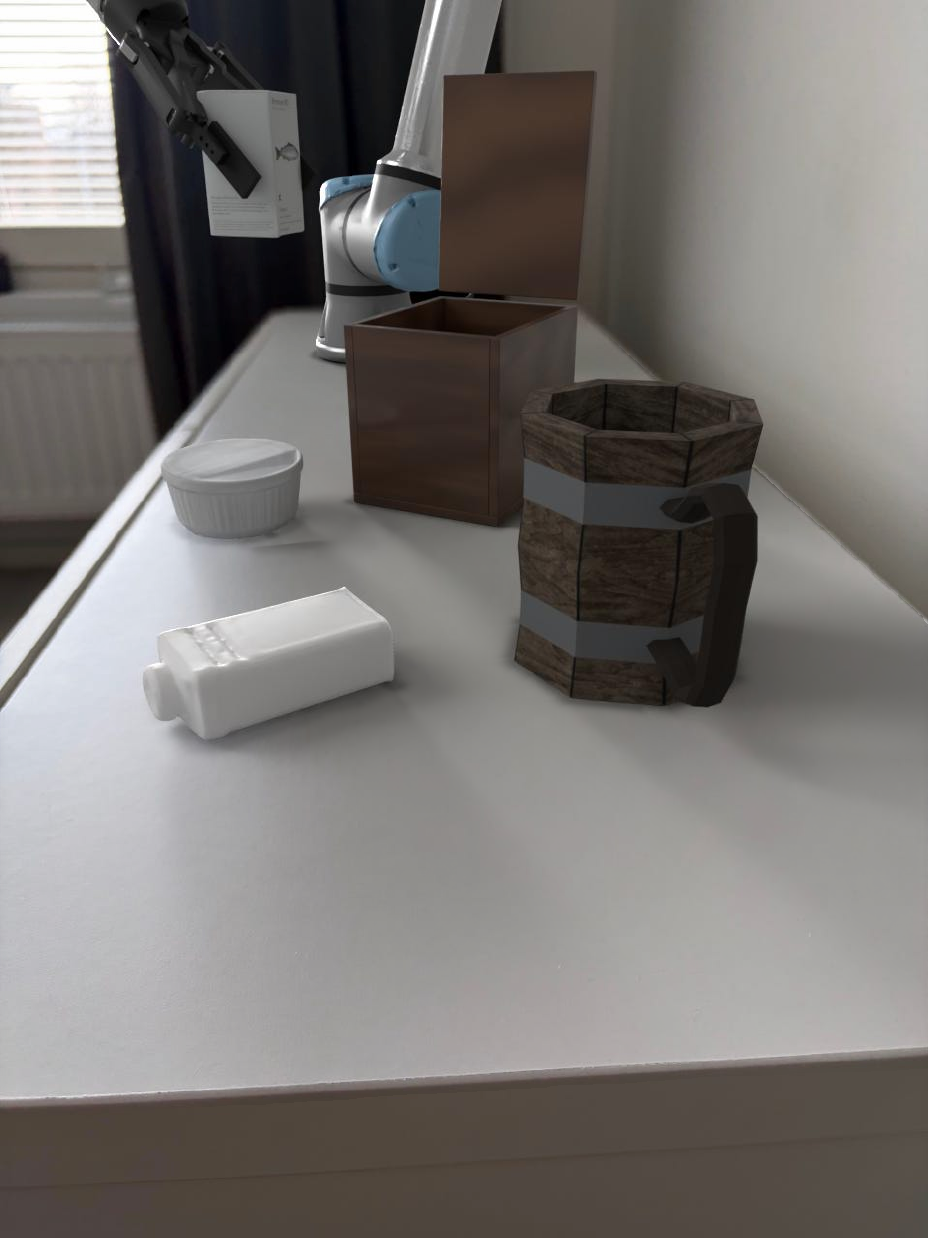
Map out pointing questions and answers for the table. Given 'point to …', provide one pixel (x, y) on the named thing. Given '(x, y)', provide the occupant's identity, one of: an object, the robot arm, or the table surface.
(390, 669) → the white bottle
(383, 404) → the chest
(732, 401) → the mug
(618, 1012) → the table surface
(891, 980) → the table surface
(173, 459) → the ramekin
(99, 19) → the robot arm
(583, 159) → the lid
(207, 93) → the white packaging box
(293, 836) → the table surface
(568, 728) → the table surface
